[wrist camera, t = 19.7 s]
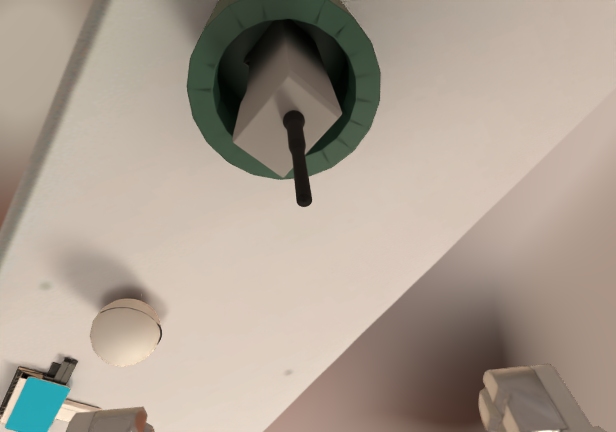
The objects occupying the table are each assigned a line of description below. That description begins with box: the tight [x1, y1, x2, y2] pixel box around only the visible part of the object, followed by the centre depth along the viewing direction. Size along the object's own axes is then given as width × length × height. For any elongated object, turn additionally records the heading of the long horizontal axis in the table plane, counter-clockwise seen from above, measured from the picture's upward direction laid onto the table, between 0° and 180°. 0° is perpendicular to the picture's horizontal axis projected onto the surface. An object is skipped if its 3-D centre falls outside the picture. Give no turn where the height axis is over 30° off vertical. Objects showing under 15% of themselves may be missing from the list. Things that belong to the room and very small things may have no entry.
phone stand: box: [0, 358, 102, 432], centre depth 62 cm, size 20×12×2 cm, turn 148°
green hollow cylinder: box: [187, 0, 381, 180], centre depth 35 cm, size 12×12×12 cm
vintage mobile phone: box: [232, 19, 342, 207], centre depth 28 cm, size 4×5×25 cm
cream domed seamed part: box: [90, 294, 162, 366], centre depth 51 cm, size 10×7×7 cm
